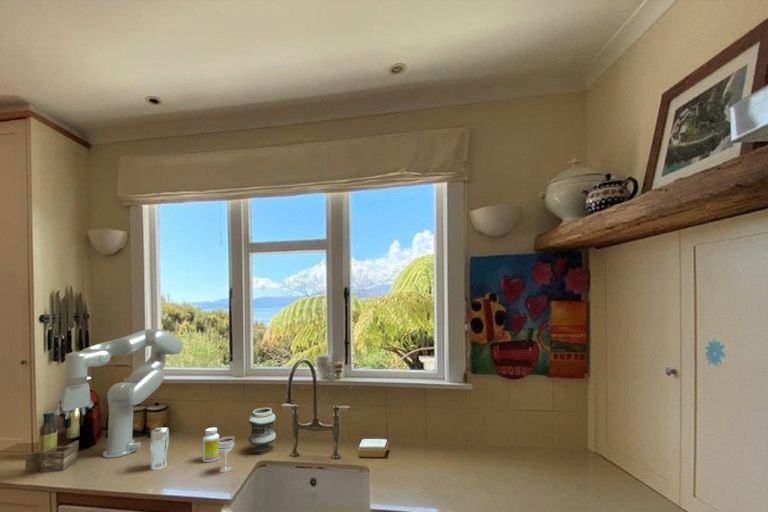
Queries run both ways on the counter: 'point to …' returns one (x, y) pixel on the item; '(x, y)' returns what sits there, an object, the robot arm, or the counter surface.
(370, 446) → the soap dish
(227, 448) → the wineglass
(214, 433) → the supplement bottle
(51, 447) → the sauce bottle
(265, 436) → the apothecary jar
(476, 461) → the counter surface
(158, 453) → the beer glass
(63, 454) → the wooden crate
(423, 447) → the counter surface
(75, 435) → the brass pin
